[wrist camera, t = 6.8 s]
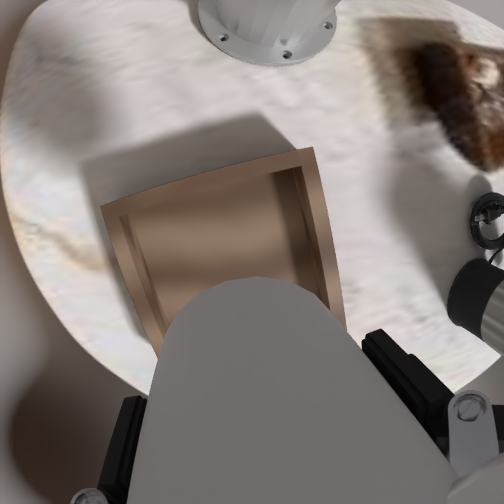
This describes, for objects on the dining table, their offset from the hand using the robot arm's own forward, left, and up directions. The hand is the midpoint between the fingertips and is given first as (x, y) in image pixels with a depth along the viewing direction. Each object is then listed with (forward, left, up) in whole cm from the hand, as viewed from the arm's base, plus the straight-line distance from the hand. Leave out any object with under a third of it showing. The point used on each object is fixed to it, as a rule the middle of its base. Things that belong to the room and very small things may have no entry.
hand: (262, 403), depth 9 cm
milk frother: (+9, +29, -18) cm, 35 cm away
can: (0, 0, -4) cm, 4 cm away
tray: (0, 0, -18) cm, 18 cm away
